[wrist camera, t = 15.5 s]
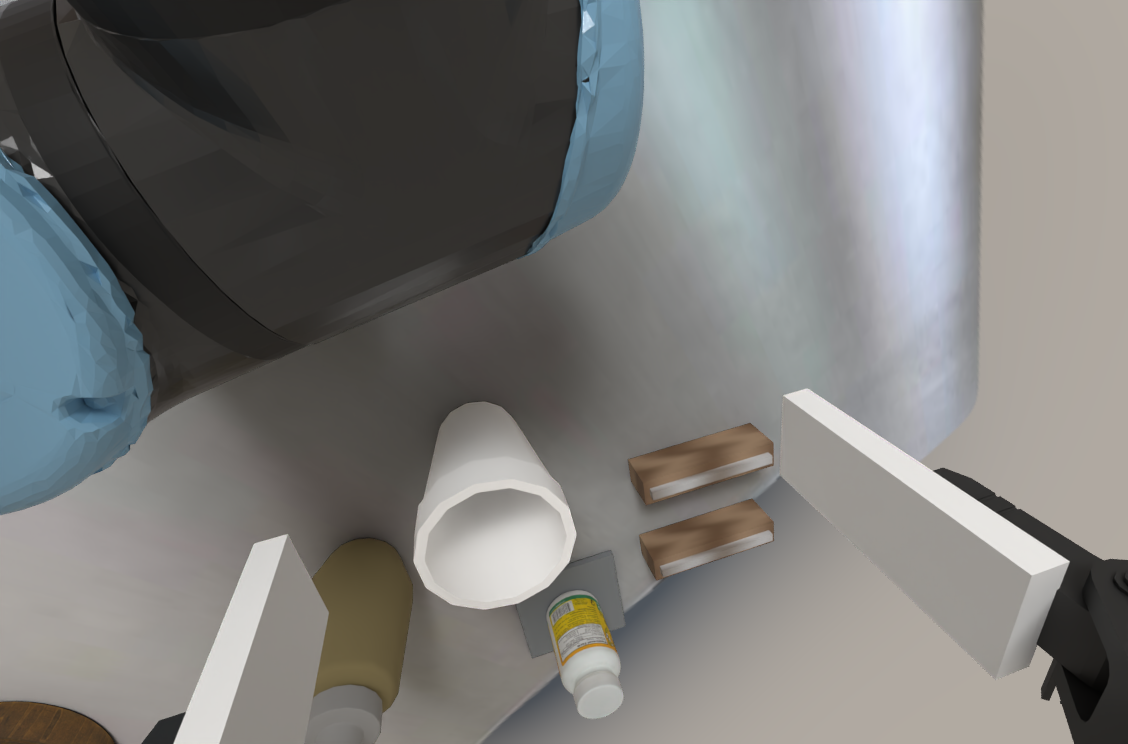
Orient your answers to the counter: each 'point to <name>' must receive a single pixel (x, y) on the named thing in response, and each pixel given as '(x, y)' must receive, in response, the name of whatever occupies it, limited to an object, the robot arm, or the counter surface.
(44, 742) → the wooden container
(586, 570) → the mat
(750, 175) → the counter surface
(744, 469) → the wooden blocks
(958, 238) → the counter surface
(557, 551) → the foam cup
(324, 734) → the squeeze bottle
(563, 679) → the supplement bottle
